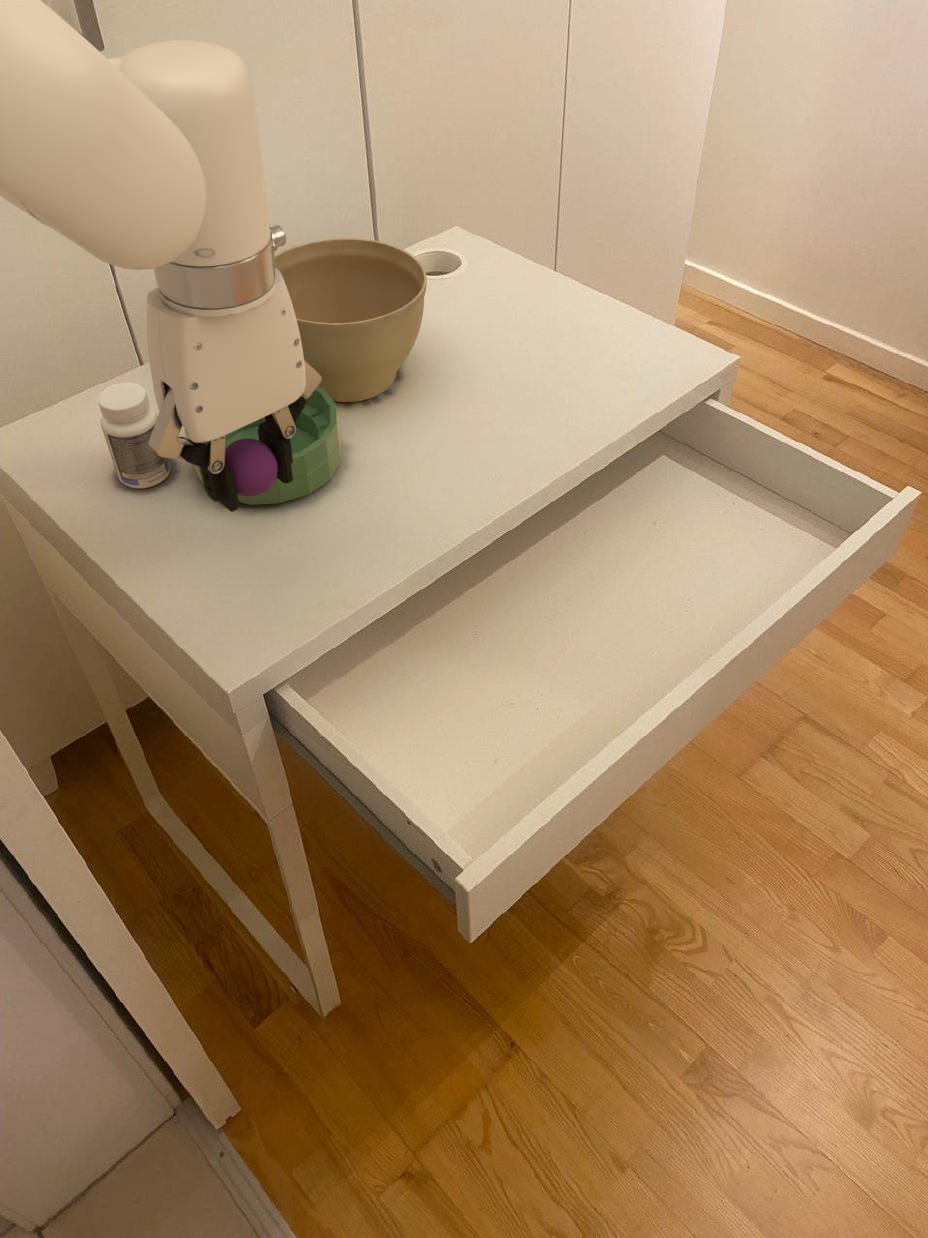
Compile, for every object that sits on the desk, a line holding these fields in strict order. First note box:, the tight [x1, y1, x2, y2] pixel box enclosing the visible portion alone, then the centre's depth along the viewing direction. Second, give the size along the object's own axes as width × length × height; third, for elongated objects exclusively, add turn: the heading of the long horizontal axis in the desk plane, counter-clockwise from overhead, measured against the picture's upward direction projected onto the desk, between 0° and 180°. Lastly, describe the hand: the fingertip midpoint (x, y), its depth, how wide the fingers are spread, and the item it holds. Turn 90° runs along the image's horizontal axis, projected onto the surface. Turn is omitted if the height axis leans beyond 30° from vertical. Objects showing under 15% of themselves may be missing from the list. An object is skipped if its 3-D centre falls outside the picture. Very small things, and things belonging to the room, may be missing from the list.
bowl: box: [184, 386, 342, 506], centre depth 87 cm, size 13×13×5 cm
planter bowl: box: [274, 237, 428, 403], centre depth 94 cm, size 16×16×11 cm
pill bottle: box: [97, 381, 171, 489], centre depth 84 cm, size 5×5×8 cm
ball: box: [225, 438, 278, 497], centre depth 73 cm, size 4×4×4 cm
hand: (251, 485), depth 75 cm, fingers closed on ball, 4 cm apart
